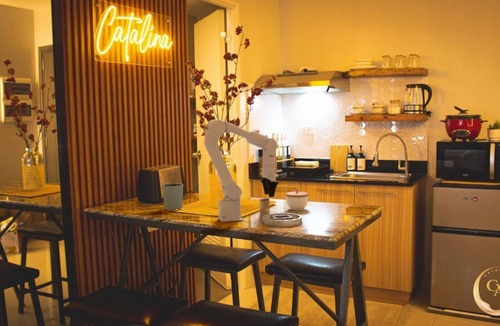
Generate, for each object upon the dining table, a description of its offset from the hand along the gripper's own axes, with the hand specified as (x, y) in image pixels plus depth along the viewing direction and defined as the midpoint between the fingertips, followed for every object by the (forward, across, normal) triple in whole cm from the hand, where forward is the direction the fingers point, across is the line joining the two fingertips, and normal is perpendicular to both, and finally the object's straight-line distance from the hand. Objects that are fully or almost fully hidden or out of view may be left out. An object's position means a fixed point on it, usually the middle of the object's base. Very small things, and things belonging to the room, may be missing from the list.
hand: (269, 195), depth 227 cm
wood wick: (+9, 0, +2) cm, 10 cm away
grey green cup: (+10, +32, +40) cm, 52 cm away
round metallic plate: (+9, -14, -2) cm, 17 cm away
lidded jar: (+9, +12, -17) cm, 23 cm away
